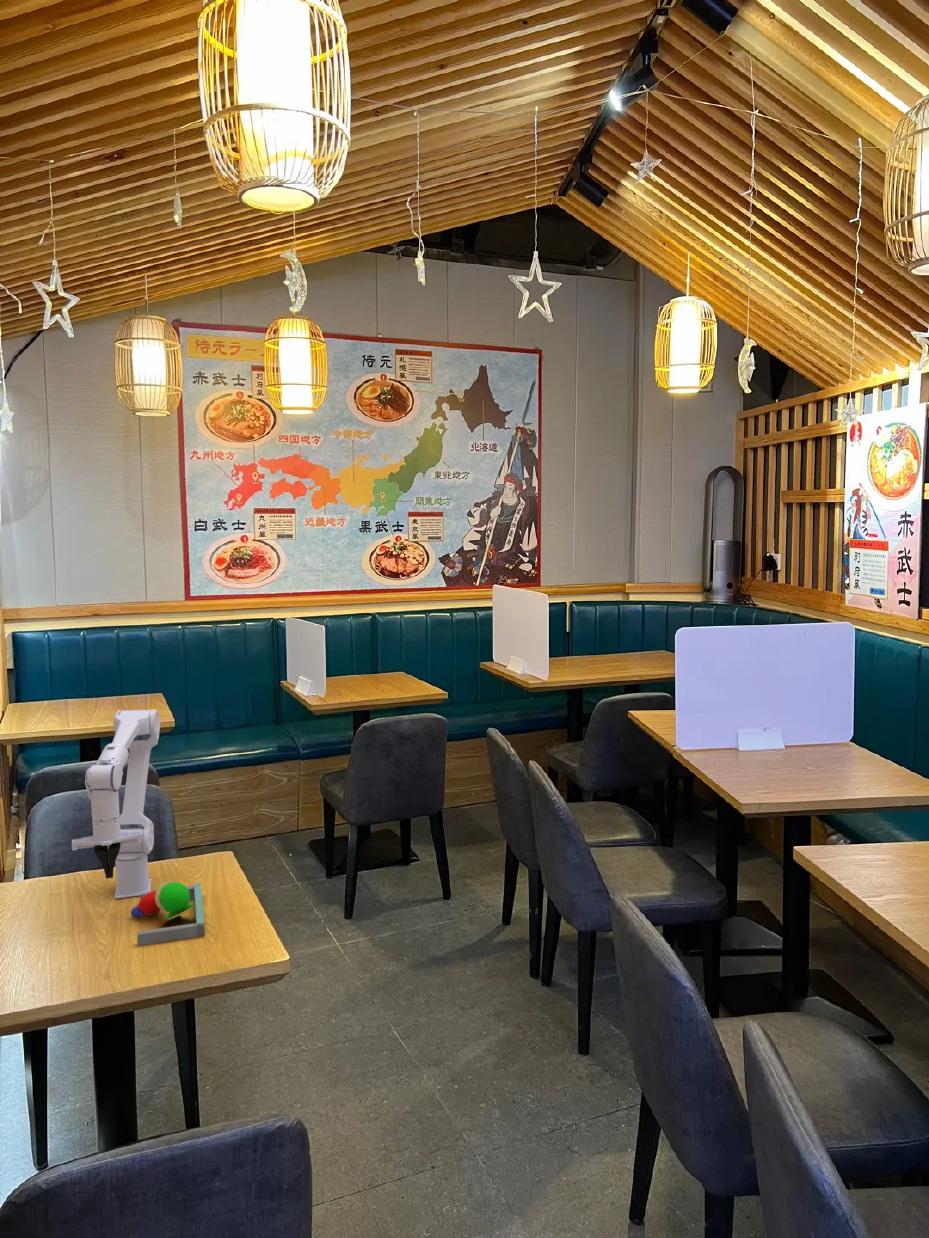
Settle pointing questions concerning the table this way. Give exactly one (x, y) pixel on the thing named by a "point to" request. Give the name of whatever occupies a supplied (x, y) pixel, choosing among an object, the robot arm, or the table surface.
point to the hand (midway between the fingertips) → (109, 876)
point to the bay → (177, 931)
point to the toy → (164, 901)
